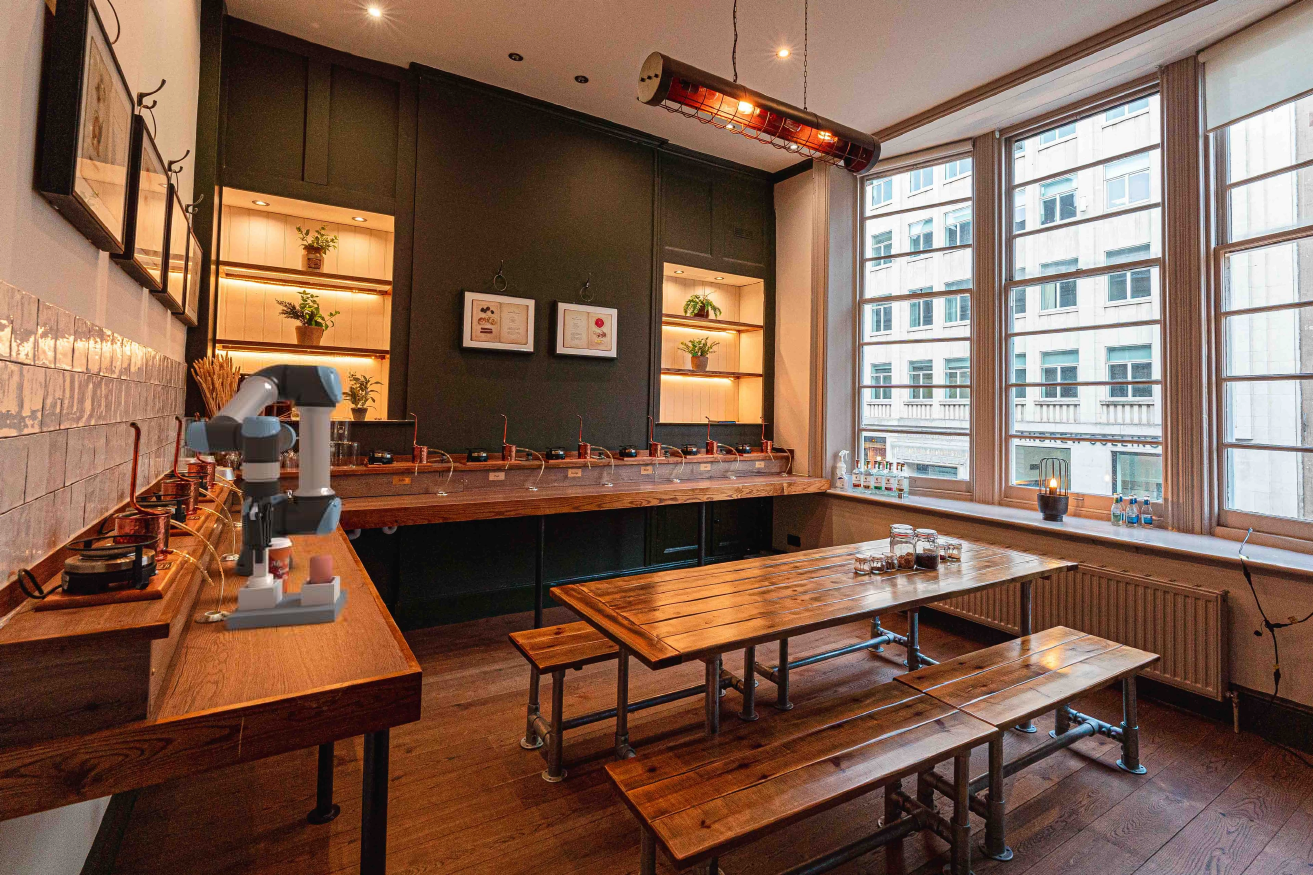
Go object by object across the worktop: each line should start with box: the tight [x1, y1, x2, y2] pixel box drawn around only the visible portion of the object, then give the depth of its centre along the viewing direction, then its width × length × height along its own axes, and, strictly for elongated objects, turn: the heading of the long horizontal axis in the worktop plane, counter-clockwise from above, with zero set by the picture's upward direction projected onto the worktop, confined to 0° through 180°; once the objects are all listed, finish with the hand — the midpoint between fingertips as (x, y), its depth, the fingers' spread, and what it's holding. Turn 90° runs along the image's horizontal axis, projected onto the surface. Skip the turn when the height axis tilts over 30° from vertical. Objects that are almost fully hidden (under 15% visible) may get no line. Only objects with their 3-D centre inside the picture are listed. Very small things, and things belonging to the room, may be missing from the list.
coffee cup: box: [268, 537, 293, 594], centre depth 157 cm, size 8×8×15 cm
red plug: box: [309, 554, 334, 585], centre depth 145 cm, size 5×5×7 cm
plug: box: [247, 573, 273, 588], centre depth 141 cm, size 5×5×7 cm
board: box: [226, 575, 348, 631], centre depth 143 cm, size 16×22×8 cm
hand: (260, 575), depth 140 cm, fingers closed
